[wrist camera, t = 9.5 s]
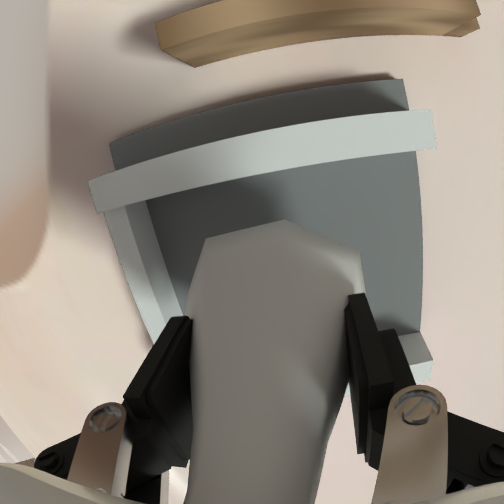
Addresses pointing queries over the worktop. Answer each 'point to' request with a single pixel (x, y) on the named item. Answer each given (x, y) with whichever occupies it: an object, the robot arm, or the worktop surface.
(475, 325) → the worktop surface
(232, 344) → the flask
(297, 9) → the wooden u-shaped bracket
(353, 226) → the dock
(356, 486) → the worktop surface
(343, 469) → the worktop surface
